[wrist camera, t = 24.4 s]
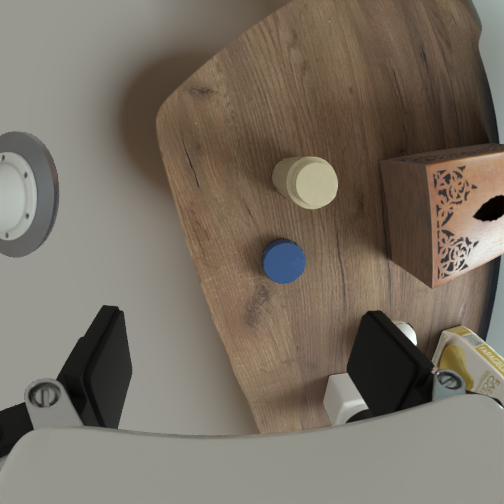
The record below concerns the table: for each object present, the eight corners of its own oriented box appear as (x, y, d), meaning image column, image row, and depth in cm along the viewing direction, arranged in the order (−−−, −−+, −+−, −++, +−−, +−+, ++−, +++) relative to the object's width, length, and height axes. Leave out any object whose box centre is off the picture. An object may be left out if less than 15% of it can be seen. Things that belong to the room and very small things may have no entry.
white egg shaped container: (402, 339, 44) (423, 363, 37) (365, 355, 44) (383, 383, 37) (402, 291, 41) (428, 313, 34) (361, 307, 41) (383, 333, 34)
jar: (264, 183, 34) (279, 192, 25) (286, 148, 33) (310, 145, 24) (298, 205, 35) (323, 222, 26) (320, 172, 34) (352, 177, 25)
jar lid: (291, 283, 38) (294, 289, 36) (254, 270, 37) (256, 275, 35) (309, 247, 37) (313, 251, 35) (271, 232, 36) (274, 236, 34)
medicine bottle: (322, 402, 46) (342, 452, 35) (328, 374, 44) (353, 426, 33) (357, 396, 47) (381, 442, 36) (366, 368, 45) (396, 415, 34)
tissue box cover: (391, 260, 39) (432, 289, 29) (379, 160, 34) (425, 165, 25) (495, 220, 39) (533, 235, 30) (490, 143, 34) (532, 147, 25)
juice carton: (439, 327, 44) (519, 405, 22) (465, 319, 45) (541, 386, 22) (426, 365, 47) (490, 444, 25) (452, 356, 48) (515, 425, 25)
